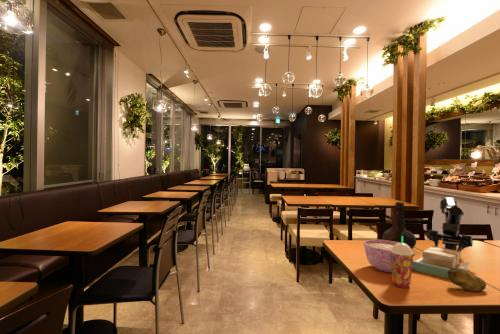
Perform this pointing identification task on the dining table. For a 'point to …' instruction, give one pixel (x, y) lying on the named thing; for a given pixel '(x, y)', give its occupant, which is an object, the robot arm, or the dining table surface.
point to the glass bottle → (399, 228)
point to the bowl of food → (379, 253)
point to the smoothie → (401, 264)
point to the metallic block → (442, 257)
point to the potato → (465, 279)
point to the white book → (433, 268)
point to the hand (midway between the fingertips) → (446, 251)
